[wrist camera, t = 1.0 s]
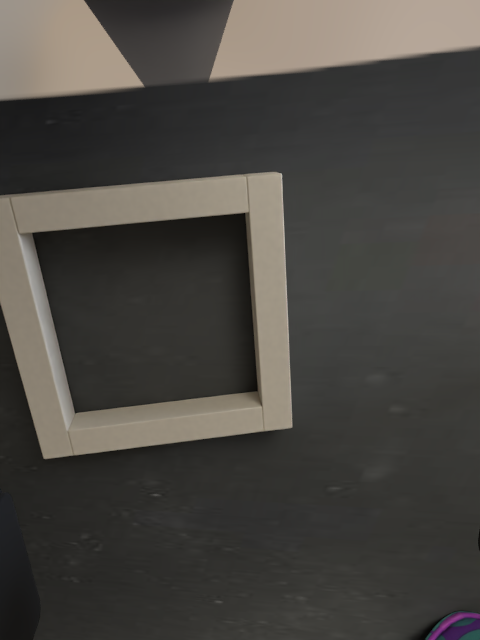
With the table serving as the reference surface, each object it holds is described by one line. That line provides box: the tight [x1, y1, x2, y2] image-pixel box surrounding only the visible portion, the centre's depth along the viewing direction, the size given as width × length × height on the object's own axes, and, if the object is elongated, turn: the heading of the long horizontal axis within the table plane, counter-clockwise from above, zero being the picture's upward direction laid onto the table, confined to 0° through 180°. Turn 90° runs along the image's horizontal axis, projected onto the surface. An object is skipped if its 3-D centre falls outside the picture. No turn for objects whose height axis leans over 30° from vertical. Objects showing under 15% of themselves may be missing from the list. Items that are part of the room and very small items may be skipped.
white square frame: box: [0, 172, 292, 459], centre depth 26 cm, size 15×15×2 cm
